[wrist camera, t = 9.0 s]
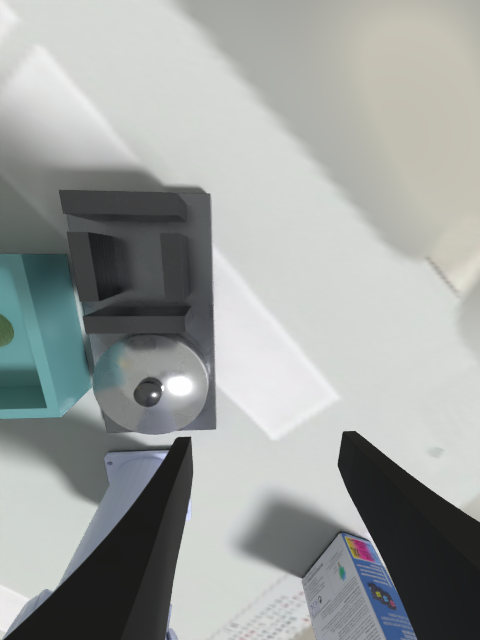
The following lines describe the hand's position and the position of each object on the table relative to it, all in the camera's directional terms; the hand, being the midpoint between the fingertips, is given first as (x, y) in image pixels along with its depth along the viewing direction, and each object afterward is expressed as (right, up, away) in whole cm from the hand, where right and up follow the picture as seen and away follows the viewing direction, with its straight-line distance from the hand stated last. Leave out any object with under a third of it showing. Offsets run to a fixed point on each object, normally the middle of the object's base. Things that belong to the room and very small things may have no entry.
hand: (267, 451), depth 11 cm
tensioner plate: (-9, +6, +9) cm, 13 cm away
